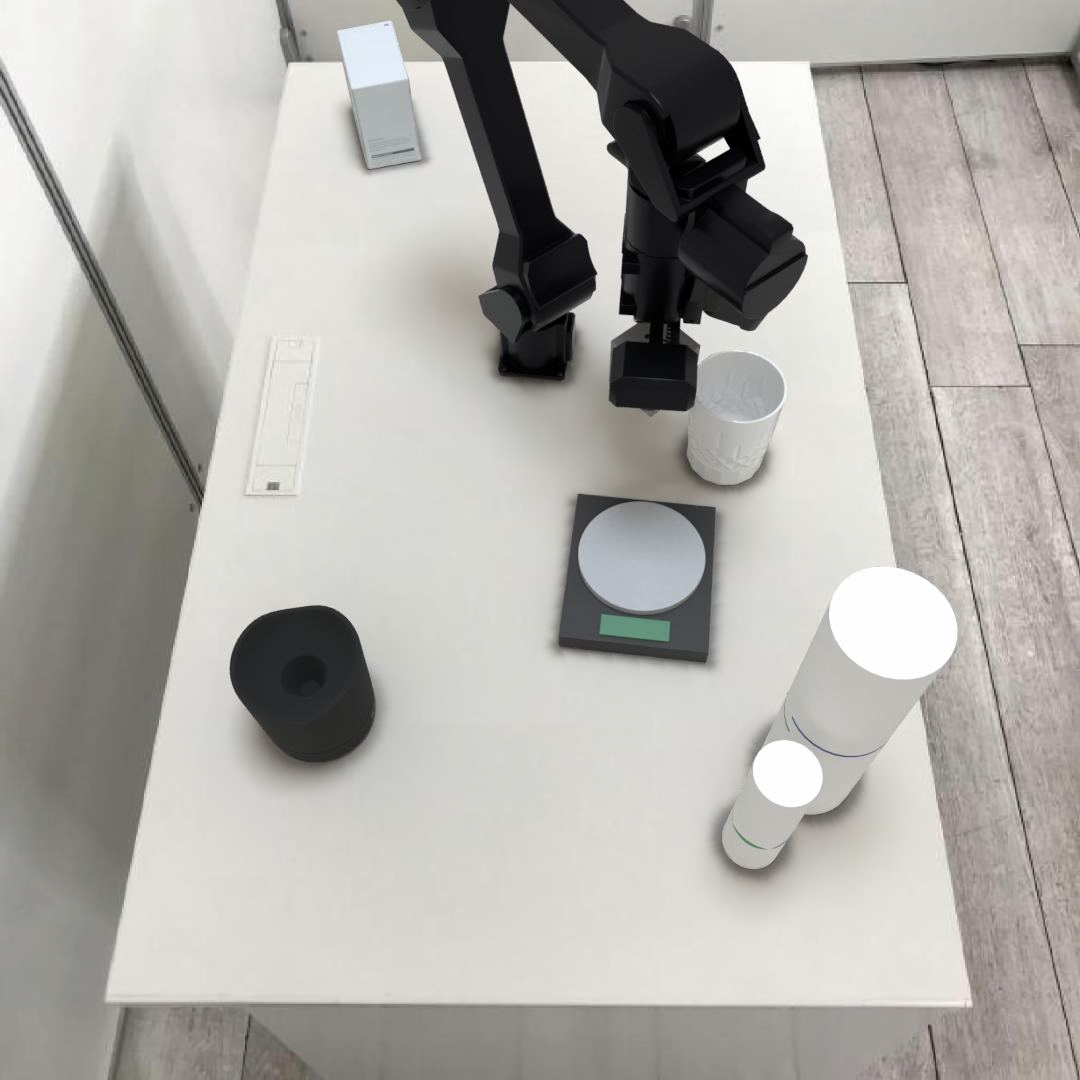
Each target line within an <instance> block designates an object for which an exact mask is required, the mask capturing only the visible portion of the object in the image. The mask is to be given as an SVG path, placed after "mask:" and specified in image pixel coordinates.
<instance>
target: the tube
mask: <svg viewBox="0 0 1080 1080" xmlns="http://www.w3.org/2000/svg"><path fill="white" fill-rule="evenodd" d="M762 747H763V746H762ZM762 747H761V749H760V750H759V751H758V753H757V754H756V755H755V758H754V760H753V762H752V764H751V766H750V769H749V771H748V773H747V775H746V778H745V780H744V782H743V783H742V786H741V788H740V791H739V793H738V795H737V798H736V799H735V802H734V804H733V806H732V809H731V810H730V813H729V815H728V817H727V819H726V821H725V824H724V826H723V828H722V831H721V832H722V833H721V843H722V848H723V850H724V852H725V854H726V856H727V857H728V858H729V859H730V860H731V861H732V862H733V863H734V864H736V865H738V866H739V867H742V868H744V869H749V870H760V869H763V868H766V867H768V866H769V865H771V863H773V862H774V860H775V859H776V858H777V857H778V855H779V853H780V852H781V850H782V849H783V847H784V846H785V845H786V843H787V841H788V840H789V839H790V837H791V835H792V834H793V832H794V831H795V829H796V828H797V826H798V825H799V823H800V822H801V820H802V819H803V817H804V816H805V815H806V814H805V813H806V811H807V810H808V808H809V806H810V805H811V803H812V802H813V800H814V799H815V797H816V796H817V794H818V792H819V791H820V789H821V785H822V779H823V775H822V769H821V766H820V763H819V761H818V760H817V758H816V757H815V755H814V754H813V753H812V752H811V751H810V750H809V749H808V748H806V747H805V746H803V745H801V744H799V743H796V742H794V741H788V740H780V741H775V742H772V743H769V744H768V745H766V746H765V747H763V748H762Z"/></svg>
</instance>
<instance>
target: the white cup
mask: <svg viewBox="0 0 1080 1080" xmlns="http://www.w3.org/2000/svg"><path fill="white" fill-rule="evenodd" d="M787 396H788V383H787V380H786V377H785V375H784V374H783V372H782V370H781V369H780V368H779V367H778V366H777V364H776V363H774V362H773V361H772V360H771V359H769V358H768V357H766V356H764V355H762V354H760V353H757V352H754V351H750V350H746V349H726V350H721V351H718V352H715V353H713V354H710V355H709V356H707V357H706V358H704V359H703V360H702V361H701V362H700V363H698V367H697V391H696V397H695V404H694V407H692V408H691V409H689V410H688V418H687V421H688V422H687V449H686V458H687V459H688V463H689V464H690V467H691V469H692V470H693V471H694V472H695V473H696V474H697V475H698V476H699V477H700V478H702V480H704V481H707V482H710V483H713V484H716V485H718V486H734V485H735V486H737V485H738V484H741V483H743V482H746V481H747V480H749V479H751V478H752V477H753V476H754V475H755V473H756V472H757V471H758V470H759V468H760V467H761V464H762V461H763V459H764V456H765V454H766V453H767V450H768V448H769V446H770V442H771V440H772V438H773V436H774V432H775V431H776V427H777V425H778V422H779V419H780V417H781V413H782V411H783V408H784V405H785V403H786V401H787Z"/></svg>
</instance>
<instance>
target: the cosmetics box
mask: <svg viewBox="0 0 1080 1080" xmlns="http://www.w3.org/2000/svg"><path fill="white" fill-rule="evenodd" d="M336 32H337V39H338V47H339V52H340V58H341V62H342V63H341V64H342V68H343V73H344V77H345V82H346V87H347V91H348V92H347V93H348V95H349V100H350V104H351V109H352V113H353V117H354V121H355V125H356V126H355V127H356V130H357V134H358V138H359V143H360V146H361V150H362V153H363V157H364V160H365V165H366V168H367V169H368V170H373V169H380V168H384V167H388V166H395V165H400V164H406V163H411V162H418V161H422V159H423V157H422V153H421V148H420V142H419V137H418V131H417V125H416V118H415V112H414V105H413V97H412V89H411V82H410V77H409V74H408V71H407V68H406V65H405V60H404V58H403V55H402V50H401V48H400V44H399V39H398V37H397V34H396V30H395V25H394V23H393V21H392V20H391V19H390V20H386V21H380V22H374V23H369V24H364V25H358V26H353V27H348V28H342V29H338V30H337V31H336Z"/></svg>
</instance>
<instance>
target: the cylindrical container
mask: <svg viewBox="0 0 1080 1080" xmlns="http://www.w3.org/2000/svg"><path fill="white" fill-rule="evenodd" d="M957 640H958V624H957V619H956V615H955V613H954V610H953V608H952V605H951V604H950V602H949V601H948V600H947V598H946V597H945V595H944V594H943V593H942V592H941V591H940V590H939V588H937V587H936V586H935V585H934V584H932V583H931V582H930V581H928V580H927V578H925V577H923V576H920V575H918V574H917V573H914V572H913V571H909V570H907V569H903V568H900V567H899V568H898V567H893V566H873V567H868V568H864V569H861V570H859V571H856V572H854V573H852V574H851V575H848V577H846V578H845V579H844V580H843V581H842V582H841V583H840V584H839V585H838V587H836V590H835V591H834V592H833V594H832V597H831V599H830V601H829V603H828V605H827V608H826V609H825V612H824V613H823V616H822V618H821V620H820V623H819V625H818V627H817V629H816V631H815V633H814V636H813V637H812V639H811V641H810V644H809V646H808V648H807V651H806V652H805V655H804V656H803V659H802V661H801V663H800V666H799V667H798V669H797V671H796V674H795V675H794V679H793V681H792V682H791V684H790V687H789V689H788V691H787V693H786V695H785V698H784V700H783V702H782V703H781V706H780V708H779V710H778V712H777V714H776V717H775V718H774V721H773V723H772V725H771V727H770V729H769V732H768V734H767V736H766V738H765V739H764V742H763V744H762V747H761V749H762V748H763V747H765V746H766V745H768V744H769V743H772V742H775V741H780V740H788V741H794V742H796V743H799V744H801V745H803V746H805V747H806V748H808V749H809V750H810V751H811V752H812V753H813V754H814V755H815V757H816V758H817V760H818V761H819V763H820V766H821V769H822V775H823V779H822V785H821V789H820V791H819V792H818V794H817V796H816V797H815V799H814V800H813V802H812V803H811V805H810V806H809V808H808V810H807V811H806V813H805V814H804V815H820V814H824V813H825V814H826V813H827V812H829V811H832V810H834V809H835V808H837V807H838V806H840V805H841V804H842V803H843V802H844V800H845V799H847V797H848V795H849V794H850V793H851V792H852V790H853V789H854V787H855V786H856V785H857V783H858V782H859V781H860V779H861V778H862V777H863V776H864V774H865V772H867V770H868V768H869V767H870V765H872V764H873V762H874V761H875V759H876V758H877V756H878V755H879V754H880V753H881V751H882V750H883V748H884V747H885V746H886V745H887V743H888V742H889V740H890V739H891V737H892V736H893V735H894V734H895V732H896V731H897V730H898V728H899V727H900V726H901V724H902V723H903V721H904V720H905V719H906V717H907V716H908V714H909V713H910V712H911V710H912V709H913V708H914V707H915V705H916V704H917V702H919V699H921V697H922V696H923V695H924V693H925V692H926V691H927V689H928V687H929V686H930V685H931V684H932V683H933V681H934V680H935V679H936V677H937V676H938V674H939V673H940V671H941V670H942V669H943V668H944V666H945V665H946V664H947V662H948V661H949V659H950V658H951V656H952V654H953V653H954V651H955V649H956V645H957Z"/></svg>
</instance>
